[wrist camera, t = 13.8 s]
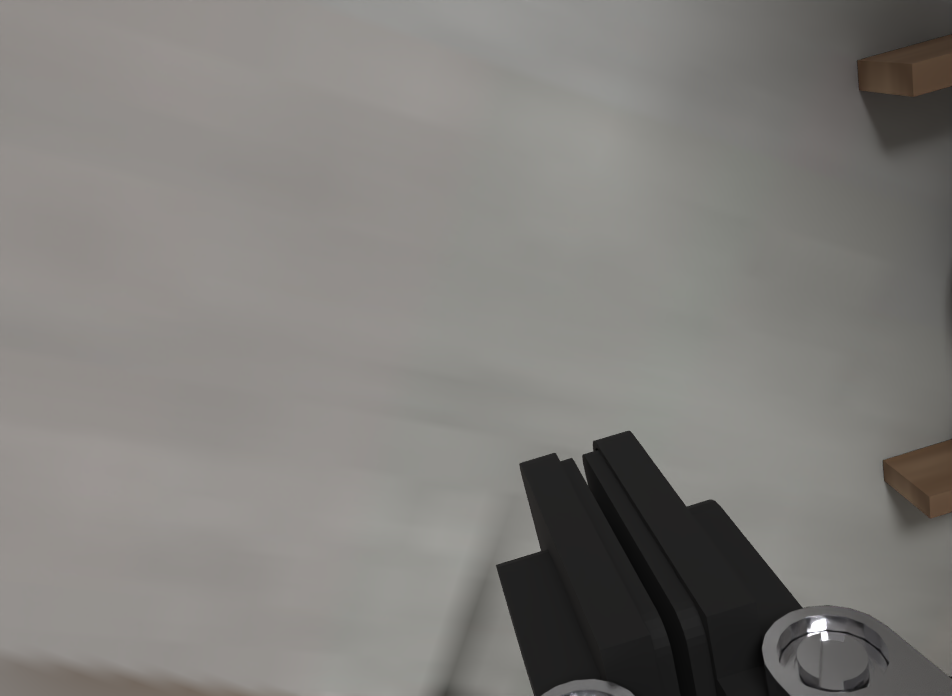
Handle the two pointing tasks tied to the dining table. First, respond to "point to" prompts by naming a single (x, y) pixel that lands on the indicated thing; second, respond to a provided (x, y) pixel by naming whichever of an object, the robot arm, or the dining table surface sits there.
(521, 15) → the dining table surface
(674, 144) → the dining table surface
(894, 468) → the corral
